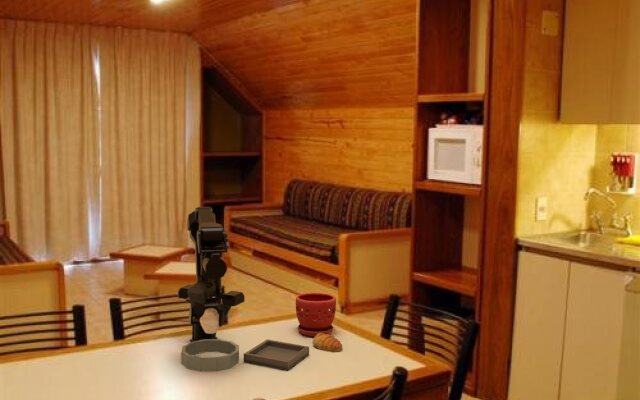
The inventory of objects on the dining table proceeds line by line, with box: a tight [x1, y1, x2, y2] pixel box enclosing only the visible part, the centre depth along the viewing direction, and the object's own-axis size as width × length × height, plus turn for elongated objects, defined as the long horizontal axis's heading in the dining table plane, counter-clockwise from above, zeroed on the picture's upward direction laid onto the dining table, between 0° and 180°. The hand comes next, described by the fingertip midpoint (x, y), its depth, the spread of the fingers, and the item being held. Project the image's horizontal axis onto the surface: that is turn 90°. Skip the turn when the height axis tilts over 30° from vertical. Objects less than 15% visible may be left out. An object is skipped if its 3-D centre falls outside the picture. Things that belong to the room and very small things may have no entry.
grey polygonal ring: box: [180, 338, 240, 372], centre depth 187 cm, size 16×16×4 cm
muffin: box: [200, 308, 220, 334], centre depth 186 cm, size 6×6×7 cm
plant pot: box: [295, 292, 337, 337], centre depth 214 cm, size 13×13×12 cm
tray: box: [243, 338, 310, 372], centre depth 190 cm, size 14×14×2 cm
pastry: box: [312, 333, 343, 353], centre depth 200 cm, size 9×7×4 cm
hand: (210, 324), depth 186 cm, fingers closed on muffin, 6 cm apart
